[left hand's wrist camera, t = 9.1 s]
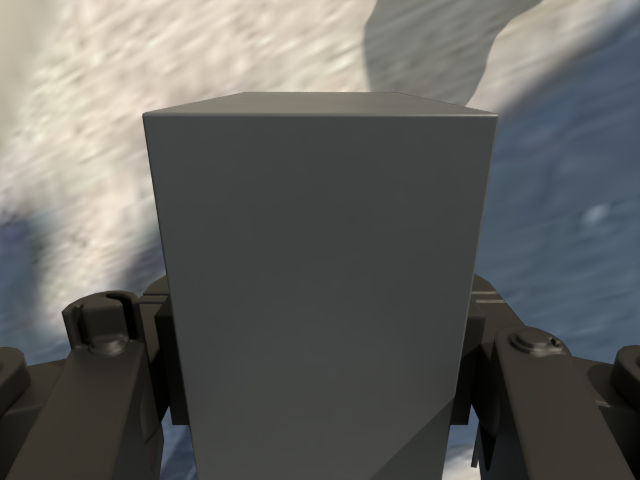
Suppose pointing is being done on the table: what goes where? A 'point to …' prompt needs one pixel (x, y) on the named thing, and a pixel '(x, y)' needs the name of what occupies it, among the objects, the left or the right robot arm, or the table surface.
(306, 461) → the beam
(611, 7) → the table surface
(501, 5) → the table surface
